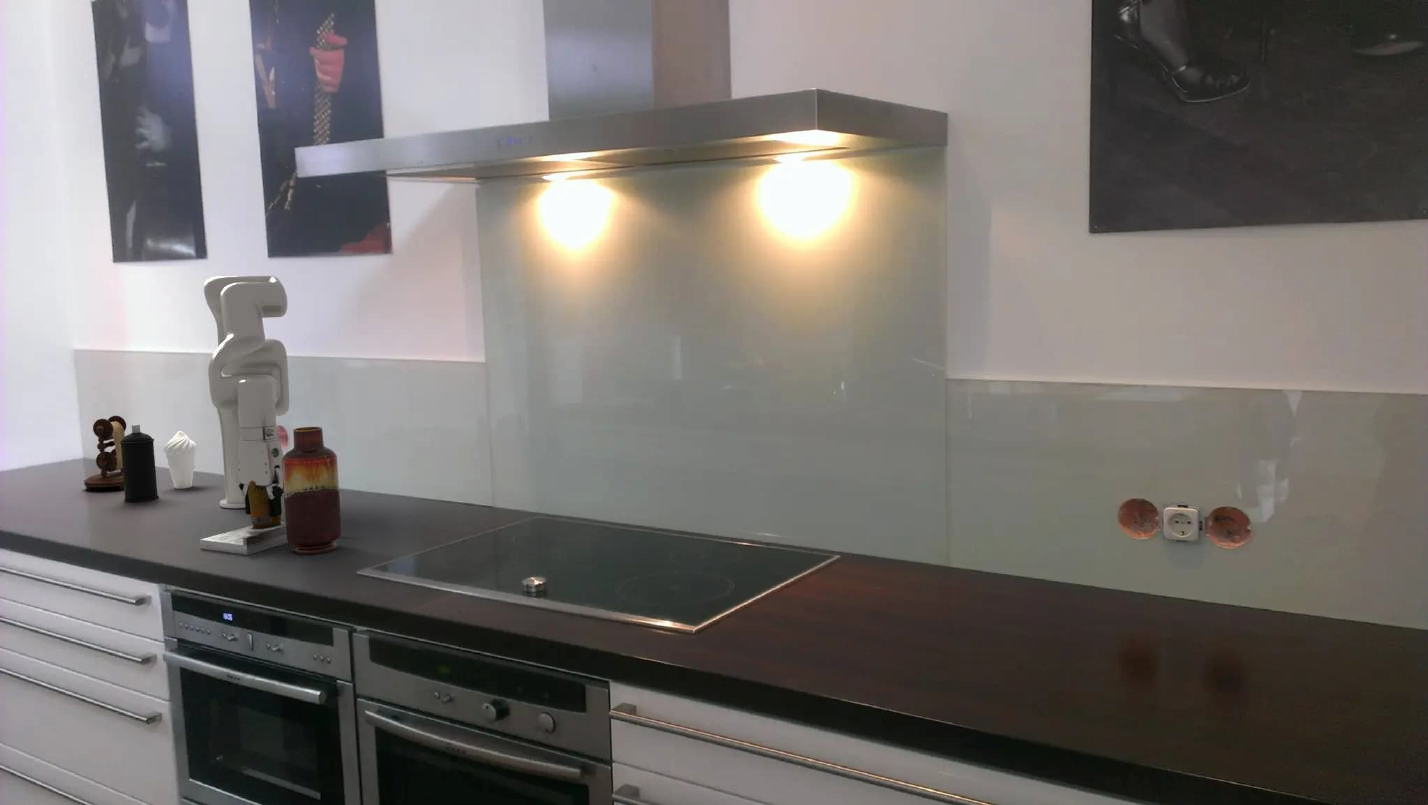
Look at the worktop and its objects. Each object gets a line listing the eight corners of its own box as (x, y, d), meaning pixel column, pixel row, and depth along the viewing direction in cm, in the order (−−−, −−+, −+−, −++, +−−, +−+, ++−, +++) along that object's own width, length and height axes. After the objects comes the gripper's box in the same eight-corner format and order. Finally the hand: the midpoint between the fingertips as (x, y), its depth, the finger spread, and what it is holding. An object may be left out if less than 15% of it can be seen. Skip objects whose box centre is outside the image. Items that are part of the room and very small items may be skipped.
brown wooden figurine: (126, 492, 301) (120, 420, 298) (73, 492, 301) (67, 421, 298) (154, 481, 315) (149, 413, 313) (103, 482, 315) (98, 414, 313)
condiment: (279, 522, 247) (272, 469, 246) (290, 525, 240) (283, 471, 239) (245, 528, 242) (238, 474, 242) (255, 531, 236) (248, 476, 235)
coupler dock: (280, 526, 255) (278, 493, 254) (325, 531, 249) (323, 497, 248) (200, 548, 235) (197, 512, 234) (247, 554, 229) (244, 517, 228)
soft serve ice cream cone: (190, 490, 302) (186, 432, 300) (160, 490, 302) (156, 433, 300) (204, 484, 310) (200, 428, 308) (175, 484, 310) (171, 428, 308)
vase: (275, 553, 230) (267, 431, 227) (312, 541, 240) (305, 424, 237) (317, 557, 226) (310, 433, 223) (353, 545, 236) (346, 425, 233)
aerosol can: (165, 498, 291) (159, 423, 289) (135, 503, 284) (128, 427, 282) (147, 495, 296) (142, 422, 293) (117, 500, 289) (111, 425, 287)
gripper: (300, 433, 239) (305, 514, 241) (244, 430, 247) (249, 508, 249) (273, 438, 232) (278, 520, 234) (216, 434, 240) (222, 515, 242)
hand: (263, 513), depth 242 cm, fingers closed on condiment, 6 cm apart
